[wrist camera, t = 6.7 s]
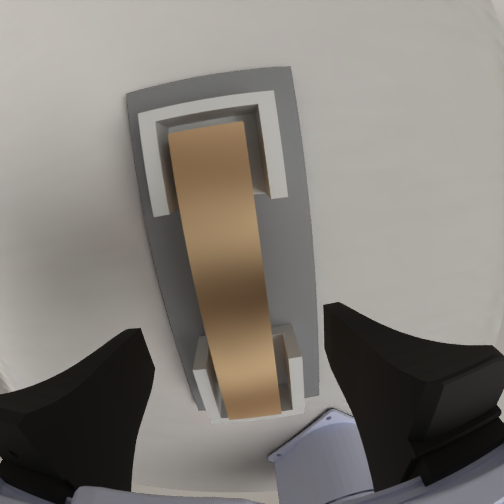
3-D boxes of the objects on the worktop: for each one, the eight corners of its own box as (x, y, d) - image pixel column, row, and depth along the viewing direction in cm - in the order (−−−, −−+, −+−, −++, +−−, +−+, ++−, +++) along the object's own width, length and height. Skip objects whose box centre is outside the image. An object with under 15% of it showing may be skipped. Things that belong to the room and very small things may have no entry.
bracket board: (316, 387, 23) (329, 428, 19) (199, 402, 23) (194, 444, 19) (287, 70, 16) (303, 44, 12) (131, 96, 16) (101, 79, 12)
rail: (274, 374, 20) (281, 413, 16) (230, 379, 20) (229, 419, 16) (242, 131, 15) (243, 121, 12) (184, 140, 15) (167, 134, 12)
